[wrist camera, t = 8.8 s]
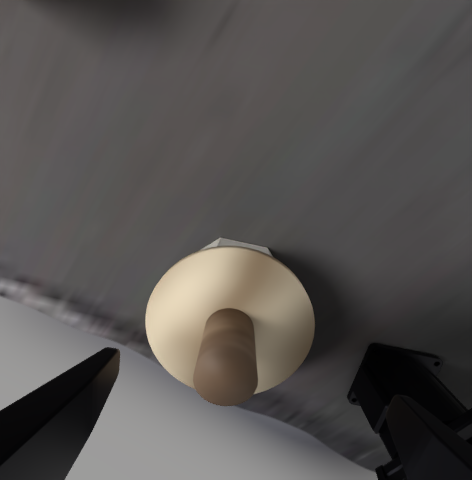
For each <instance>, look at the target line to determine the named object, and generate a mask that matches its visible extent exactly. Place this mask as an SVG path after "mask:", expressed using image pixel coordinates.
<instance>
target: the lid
mask: <svg viewBox="0 0 472 480" xmlns="http://www.w3.org/2000/svg"><path fill="white" fill-rule="evenodd" d="M314 330H315V319H314V312H313V308H312V304H311V302H310V299H309V297H308V295H307V293H306V291H305V289H304V287H303V286H302V284H301V282H300V281H299V279H298V278H297V277H296V276H295V274H294V273H293V272H292V271H291V270H290V269H289V268H288V267H287V266H286V265H284V264H283V263H282V262H280V261H279V260H277V259H276V258H274V257H272V256H270V255H268V254H266V253H264V252H261V251H259V250H255V249H251V248H248V247H241V246H217V247H210V248H206V249H203V250H199V251H197V252H194V253H192V254H190V255H188V256H186V257H185V258H183V259H181V260H180V261H178V262H177V263H176V264H175V265H173V266H172V267H171V268H170V269H169V270H168V271H167V272H166V273H165V275H164V276H163V277H162V279H161V280H160V281H159V283H158V284H157V285H156V287H155V289H154V290H153V292H152V294H151V296H150V299H149V302H148V305H147V311H146V332H147V337H148V340H149V344H150V346H151V348H152V351H153V353H154V354H155V356H156V358H157V359H158V361H159V362H160V363H161V364H162V366H163V367H164V368H165V369H166V370H167V371H168V372H169V373H170V374H171V375H172V376H174V377H175V378H176V379H178V380H179V381H181V382H182V383H184V384H186V385H187V386H189V387H192V388H194V389H196V391H197V392H198V394H200V396H201V397H202V398H204V399H205V400H207V401H208V402H210V403H213V404H216V405H220V406H233V405H238V404H241V403H243V402H245V401H246V400H248V399H249V398H250V397H251V396H252V395H253V394H256V393H259V392H263V391H266V390H268V389H270V388H273V387H275V386H276V385H278V384H280V383H282V382H283V381H284V380H286V379H287V378H288V377H290V376H291V375H292V374H293V373H294V372H295V371H296V370H297V369H298V368H299V367H300V365H301V364H302V363H303V361H304V360H305V358H306V356H307V355H308V353H309V350H310V348H311V345H312V342H313V338H314Z"/></svg>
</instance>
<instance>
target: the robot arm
mask: <svg viewBox="0 0 472 480" xmlns="http://www.w3.org/2000/svg"><path fill="white" fill-rule="evenodd" d="M375 349H376V350H375ZM374 350H375V351H374ZM119 363H120V351H119V349H116V348H109V347H107V348H104V349H102V350H101V351H99V352H97V353H96V354H94V355H92V356H91V357H89V358H88V359H86V360H84V361H82V362H81V363H79V364H77V365H76V366H74V367H72V368H71V369H69V370H67V371H66V372H64V373H62V374H61V375H59V376H57V377H56V378H54V379H52V380H51V381H49V382H47V383H46V384H44V385H42V386H41V387H39V388H37V389H36V390H34V391H32V392H31V393H29V394H27V395H26V396H24V397H22V398H21V399H19V400H17V401H16V402H14V403H12V404H11V405H9V406H7V407H6V408H4V409H2V410H1V411H0V480H65V478H66V476H67V474H68V473H69V471H70V469H71V468H72V465H73V464H74V462H75V461H76V459H77V457H78V455H79V454H80V452H81V450H82V448H83V447H84V445H85V443H86V441H87V440H88V438H89V436H90V434H91V432H92V430H93V428H94V426H95V424H96V422H97V420H98V418H99V416H100V413H101V411H102V409H103V407H104V405H105V403H106V400H107V398H108V396H109V394H110V392H111V389H112V387H113V385H114V383H115V381H116V379H117V376H118V373H119ZM442 365H443V361H442V360H441V359H440V358H439V357H437V356H434V355H429V354H424V353H419V352H415V351H410V350H405V349H400V348H395V347H390V346H385V345H381V344H371V345H370V346H369V347H368V349H367V352H366V354H365V356H364V359H363V361H362V363H361V365H360V368H359V370H358V372H357V374H356V377H355V379H354V381H353V384H352V386H351V388H350V391H349V393H348V395H347V398H348V400H349V402H350V403H351V404H353V405H359V406H361V408H362V410H363V412H364V414H365V416H366V418H367V420H368V421H369V423H370V425H371V427H372V429H373V431H374V432H375V434H379V435H380V437H381V439H382V441H383V443H384V445H385V447H386V449H387V451H388V453H389V455H390V456H391V458H392V461H390V462H388V463H387V464H385V465H384V466H383V465H381V466H379V467H377V468H376V469H375V470H376V474H377V477H378V480H472V408H471V409H470V410H467V409H466V407H465V406H464V405H463V404H462V403H461V402H460V401H459V400H458V399H457V398H456V397H455V396H454V395H453V394H452V393H451V392H450V391H449V390H448V389H447V388H446V386H445V385H444V384H443V383H442V382H441V381H440V380H439V379H438V378H437V377H436V376H437V374H438V372H439V370H440V368H441V367H442Z"/></svg>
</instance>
